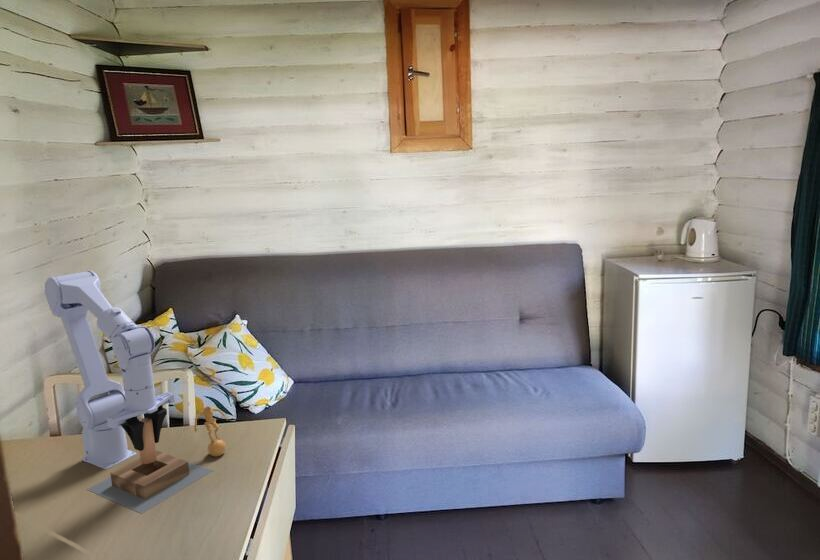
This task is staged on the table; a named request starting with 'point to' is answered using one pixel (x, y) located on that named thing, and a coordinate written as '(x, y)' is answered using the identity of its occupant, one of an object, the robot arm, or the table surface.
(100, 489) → the mat
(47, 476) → the table surface
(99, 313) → the robot arm
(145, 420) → the dowel
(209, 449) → the figurine
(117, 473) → the square frame
